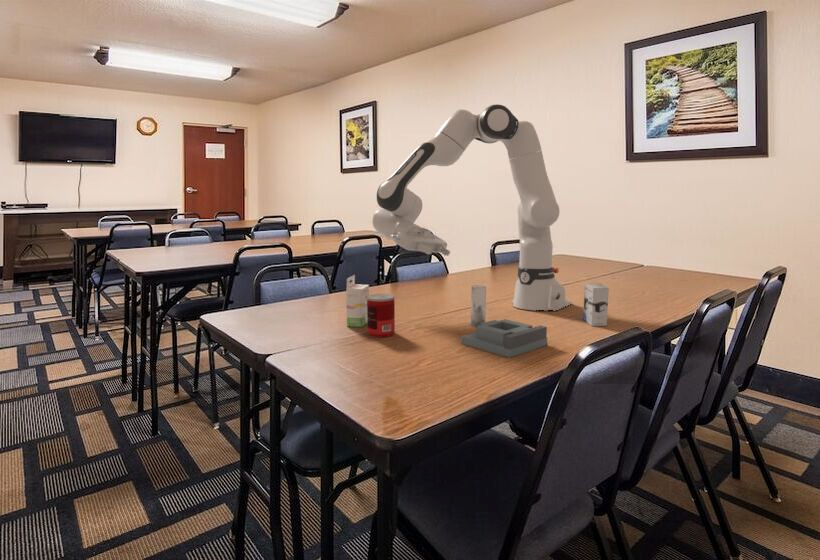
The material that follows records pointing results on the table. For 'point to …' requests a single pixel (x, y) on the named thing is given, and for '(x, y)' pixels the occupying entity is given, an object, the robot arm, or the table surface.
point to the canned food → (381, 315)
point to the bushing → (478, 305)
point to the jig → (506, 337)
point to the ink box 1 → (356, 303)
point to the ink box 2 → (595, 304)
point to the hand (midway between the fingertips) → (439, 252)
